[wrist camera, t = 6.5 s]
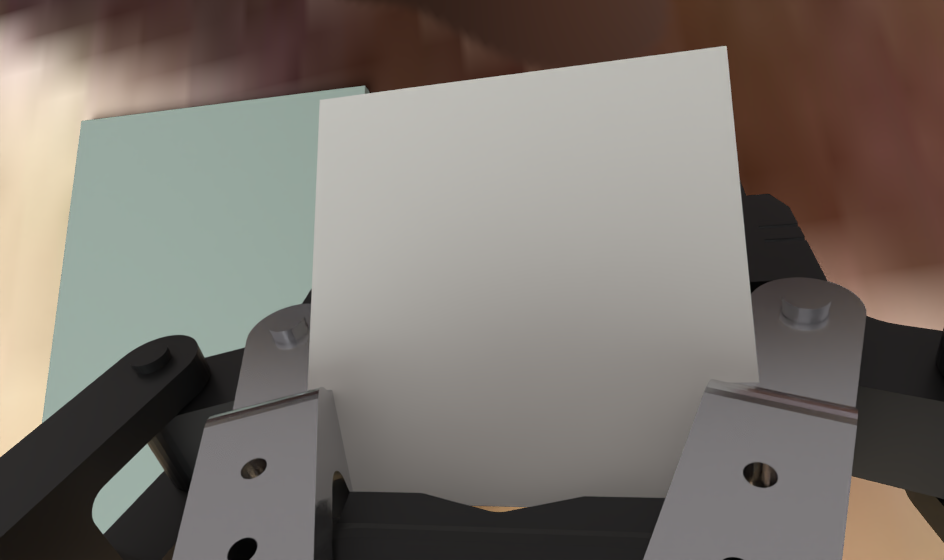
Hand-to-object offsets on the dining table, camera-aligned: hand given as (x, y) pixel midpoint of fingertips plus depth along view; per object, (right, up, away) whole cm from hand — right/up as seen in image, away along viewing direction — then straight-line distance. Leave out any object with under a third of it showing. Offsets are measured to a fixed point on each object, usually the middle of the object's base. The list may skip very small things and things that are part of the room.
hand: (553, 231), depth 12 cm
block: (+1, -3, +4) cm, 5 cm away
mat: (-11, -4, +10) cm, 16 cm away
